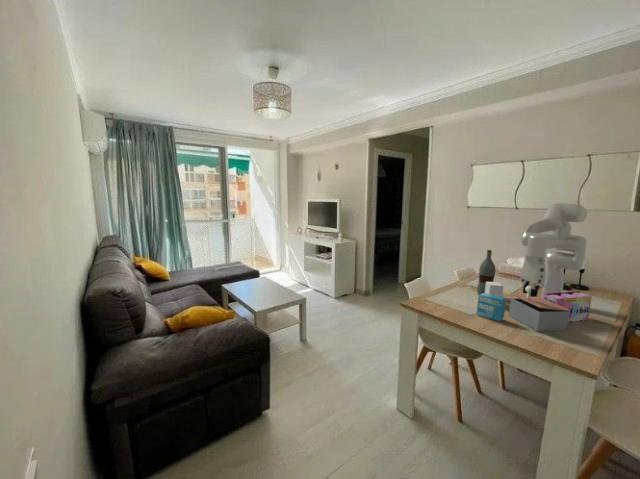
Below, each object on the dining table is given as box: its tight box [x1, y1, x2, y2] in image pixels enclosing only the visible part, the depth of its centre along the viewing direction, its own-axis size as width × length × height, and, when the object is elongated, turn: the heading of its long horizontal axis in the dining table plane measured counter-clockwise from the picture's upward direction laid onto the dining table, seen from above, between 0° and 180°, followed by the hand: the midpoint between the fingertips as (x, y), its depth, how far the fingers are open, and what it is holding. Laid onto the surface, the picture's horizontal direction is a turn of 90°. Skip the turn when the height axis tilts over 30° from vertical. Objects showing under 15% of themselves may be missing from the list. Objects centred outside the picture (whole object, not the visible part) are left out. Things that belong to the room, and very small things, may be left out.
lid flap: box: [510, 285, 570, 311], centre depth 145 cm, size 17×18×8 cm
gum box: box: [543, 290, 592, 323], centre depth 152 cm, size 24×8×14 cm, turn 101°
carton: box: [508, 297, 570, 333], centre depth 147 cm, size 16×18×10 cm
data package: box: [476, 293, 506, 322], centre depth 153 cm, size 12×4×12 cm, turn 47°
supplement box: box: [485, 281, 504, 297], centre depth 172 cm, size 7×7×13 cm
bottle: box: [476, 249, 496, 296], centre depth 185 cm, size 9×9×30 cm
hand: (529, 294), depth 145 cm, fingers closed on lid flap, 4 cm apart
